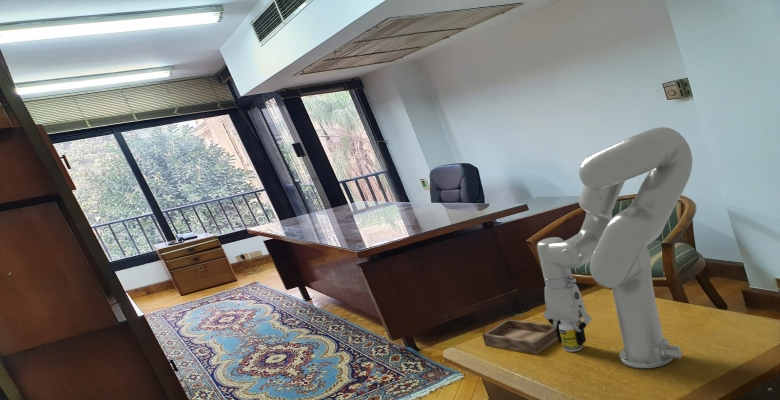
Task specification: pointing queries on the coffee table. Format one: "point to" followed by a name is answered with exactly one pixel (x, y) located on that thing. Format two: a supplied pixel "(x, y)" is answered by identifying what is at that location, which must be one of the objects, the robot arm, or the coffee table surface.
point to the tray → (521, 336)
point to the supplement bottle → (569, 336)
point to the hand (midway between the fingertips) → (572, 341)
